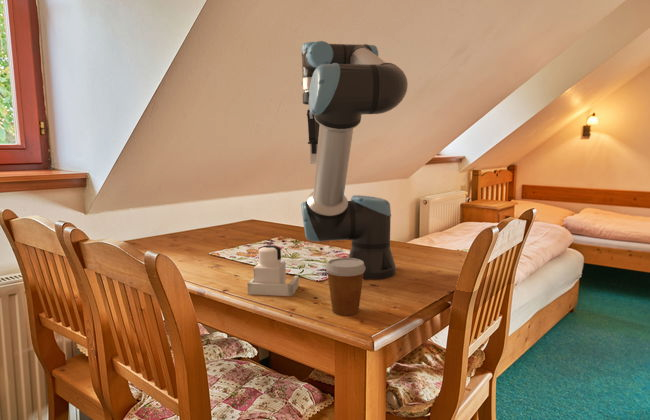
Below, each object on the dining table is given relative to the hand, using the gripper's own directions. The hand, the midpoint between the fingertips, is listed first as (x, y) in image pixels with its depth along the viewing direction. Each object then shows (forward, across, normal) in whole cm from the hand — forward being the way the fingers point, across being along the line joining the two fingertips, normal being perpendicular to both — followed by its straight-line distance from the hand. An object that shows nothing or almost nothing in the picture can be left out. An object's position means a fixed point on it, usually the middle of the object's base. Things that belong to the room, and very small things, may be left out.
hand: (314, 163), depth 164 cm
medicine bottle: (+33, +37, -6) cm, 50 cm away
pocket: (+33, +38, -5) cm, 50 cm away
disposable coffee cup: (+33, +50, +16) cm, 62 cm away
